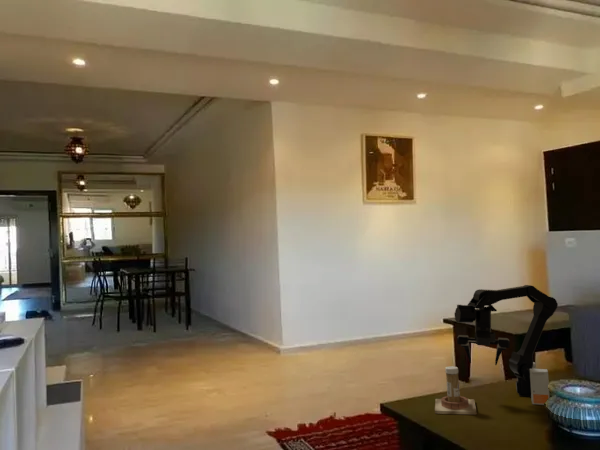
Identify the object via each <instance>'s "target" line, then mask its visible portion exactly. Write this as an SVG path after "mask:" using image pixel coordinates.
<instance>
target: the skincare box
mask: <svg viewBox="0 0 600 450" xmlns="http://www.w3.org/2000/svg"><path fill="white" fill-rule="evenodd" d="M530 381H531V396H530V397H531V404H532V405H540V406H545V405H544V403H545V402H546V401H547V399H548V398H551V397H550V388H549V389H548V385H549V386H550V383H549V371H548V369H547V368H537V369H530Z"/></svg>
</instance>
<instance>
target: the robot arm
mask: <svg viewBox="0 0 600 450" xmlns="http://www.w3.org/2000/svg"><path fill="white" fill-rule="evenodd" d="M524 297H527V299H528V300H529V301H530V302H532V303H533V306H532V309H533V311H532V312H533V313H532V314H533V316H532V319H531V321H530V324H529V326H528V329H527V332H526V334H525V336H524V339H523V341H522V344H521V346H520V349H519V350H518V351H517V352H515V351H512V352H511V355H510V358H509V359H508V362H509V363H508V366H509V369H510V370H511V371H512V372H513V374H514V376H516V379H517V380H515V390H516V393H517V394H518V395H519V397H531V381H530V369H532V367H533V362H534V353H535V350H536V348H537V345H538V343H539V340H540V338H541V335H542V333H543V330H544V328H545V325H546V323H547V321H548V320H549V319H550V318H551V317H552V316H553V315H554V314H555V312H556V310H557V309H558V306H559V305H558V303H559V302H557V299H555V297H552V296H550V295H548V294H546V293H544V292H543V291H541V290H539V289H538V288H537V287H536V286H534V285H531V284H524V285H522V286H521V285H520V286H515V287H507V288H502V289H476V290H475V291H474V293H473V297H472V298H471V299H470V301H468V303H467V304H464V305H463V304H456V308H455V311H454V320H455V322H456V324H457V323H459V324H464V323H465V324H466V323H468V324H469V323H470V324H473V323H474V328H475V329H474V337H469V335H466V334H465V335H464V334H458V336H457V340H456V342H457V345H460V347H462V348H464V350H465V353H466V355H467V358H468V362H469V364H471V363H472V355H471V349H470V344H476V345H477V346H487V347H488V346H491V345H496V352H495V360H494V365H495V366H497V365H498V362H499V359H500V356H501V354H502V352H503V351H506V350H507V349H510V345H511V342H510V339H509V338H507V337H497V339H496V332H492V312H497V309H496V308H495V306H494V304H496V303H498V302H500V301H505V300H512V299H517V298H524Z"/></svg>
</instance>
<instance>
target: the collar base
mask: <svg viewBox="0 0 600 450" xmlns="http://www.w3.org/2000/svg"><path fill="white" fill-rule="evenodd" d="M475 402H476V401H475V399H474V398H473V399H472V398H471V399H469V398H468V397H465V396H461V395H460V402H448V395H446V396H443V397H441V398H435V403H434V414H439V415H440V414H441V415H442V414H443V415H478V414H477V407H476V403H475Z"/></svg>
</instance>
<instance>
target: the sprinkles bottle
mask: <svg viewBox="0 0 600 450" xmlns="http://www.w3.org/2000/svg"><path fill="white" fill-rule="evenodd" d="M444 372H445V376H446V394H447V396H448V402H460V396H461V390H460V381H459V368H458V367H457V366H452V365H451V366H445V371H444Z"/></svg>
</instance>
